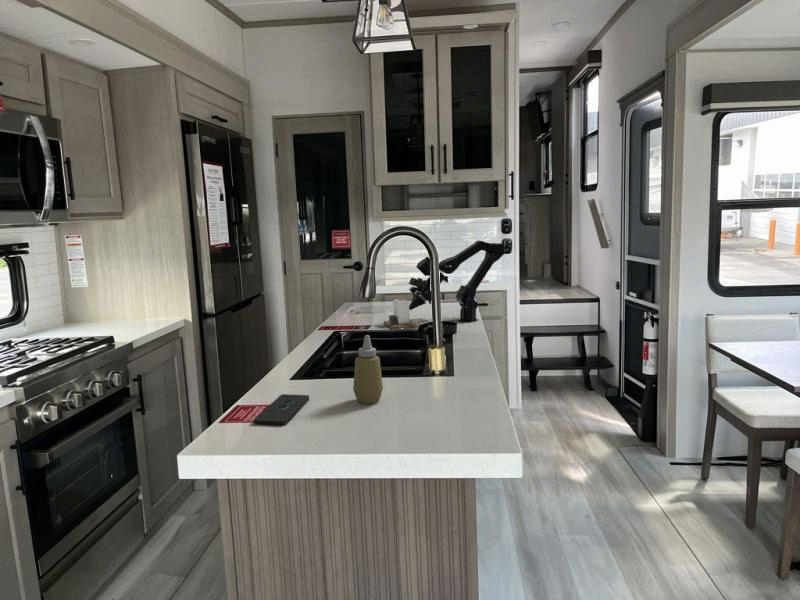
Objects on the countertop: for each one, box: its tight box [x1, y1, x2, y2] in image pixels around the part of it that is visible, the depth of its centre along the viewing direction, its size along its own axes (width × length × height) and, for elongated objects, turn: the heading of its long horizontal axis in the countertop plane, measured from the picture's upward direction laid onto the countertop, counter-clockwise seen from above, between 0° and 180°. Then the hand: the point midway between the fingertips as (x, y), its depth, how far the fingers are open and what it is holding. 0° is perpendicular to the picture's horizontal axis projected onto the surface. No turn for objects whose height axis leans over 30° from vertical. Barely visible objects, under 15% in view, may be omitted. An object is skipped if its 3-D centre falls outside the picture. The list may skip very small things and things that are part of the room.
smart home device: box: [253, 393, 310, 427], centre depth 149 cm, size 8×2×20 cm
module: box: [392, 297, 410, 324], centre depth 254 cm, size 5×7×11 cm
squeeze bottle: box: [352, 334, 384, 405], centre depth 154 cm, size 8×8×18 cm
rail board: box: [383, 314, 430, 330], centre depth 255 cm, size 18×14×4 cm
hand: (408, 309), depth 255 cm, fingers closed
